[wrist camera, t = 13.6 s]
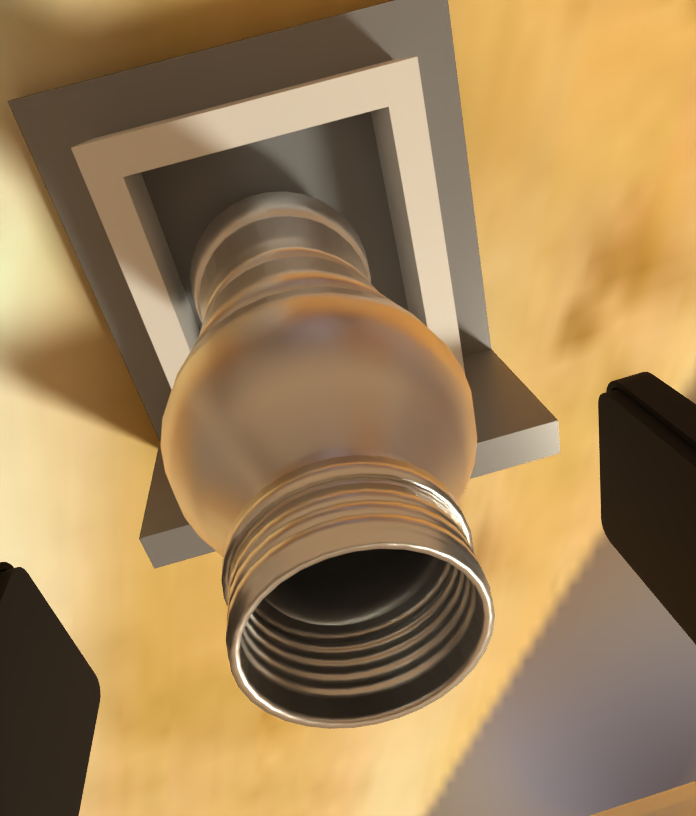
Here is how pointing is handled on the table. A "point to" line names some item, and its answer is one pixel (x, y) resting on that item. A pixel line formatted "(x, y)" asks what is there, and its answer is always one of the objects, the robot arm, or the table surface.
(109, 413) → the table surface
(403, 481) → the plastic bottle
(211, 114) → the housing
